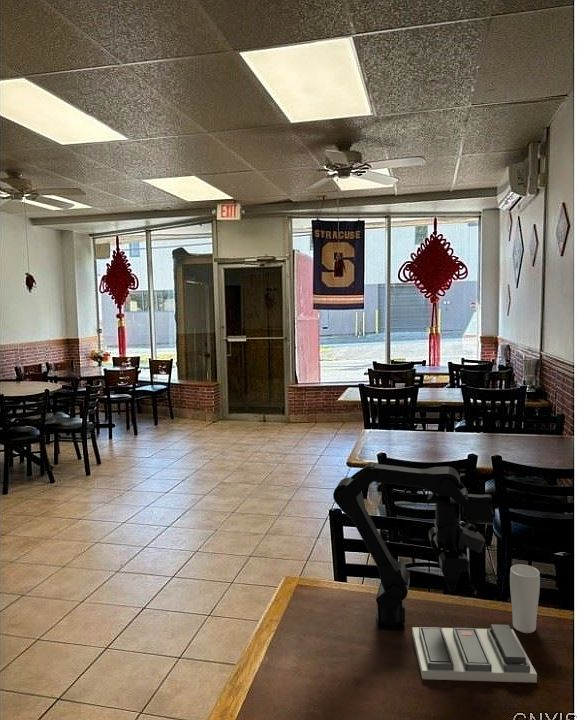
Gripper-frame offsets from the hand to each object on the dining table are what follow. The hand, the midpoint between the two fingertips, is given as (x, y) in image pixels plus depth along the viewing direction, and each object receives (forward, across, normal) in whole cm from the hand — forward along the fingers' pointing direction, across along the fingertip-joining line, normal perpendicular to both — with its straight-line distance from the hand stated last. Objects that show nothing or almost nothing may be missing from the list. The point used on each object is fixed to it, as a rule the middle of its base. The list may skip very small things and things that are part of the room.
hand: (447, 581), depth 134 cm
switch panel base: (+13, -10, -3) cm, 17 cm away
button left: (+11, -11, +5) cm, 16 cm away
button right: (+10, -11, -11) cm, 18 cm away
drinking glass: (+13, +2, -19) cm, 23 cm away
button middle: (+11, -11, -3) cm, 16 cm away
